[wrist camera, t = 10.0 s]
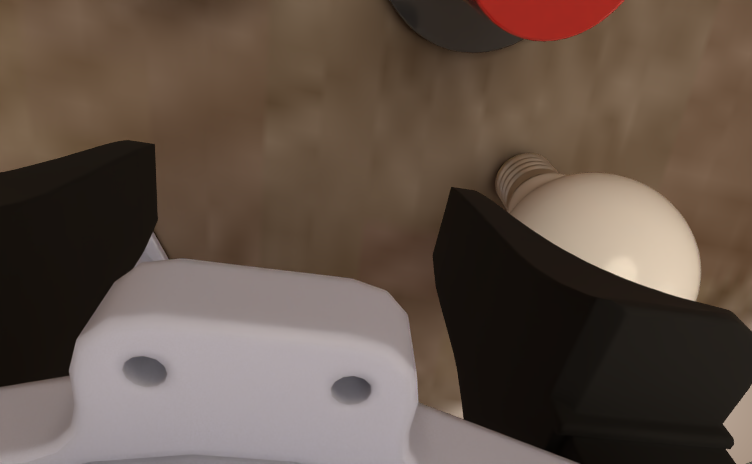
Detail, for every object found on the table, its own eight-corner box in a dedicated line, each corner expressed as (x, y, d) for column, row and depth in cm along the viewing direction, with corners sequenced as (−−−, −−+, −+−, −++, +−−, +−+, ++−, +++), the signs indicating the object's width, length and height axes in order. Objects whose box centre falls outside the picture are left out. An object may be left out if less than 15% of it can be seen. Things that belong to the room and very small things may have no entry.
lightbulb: (614, 169, 24) (790, 318, 15) (510, 255, 26) (607, 436, 17) (530, 77, 22) (676, 184, 12) (424, 180, 24) (478, 340, 15)
